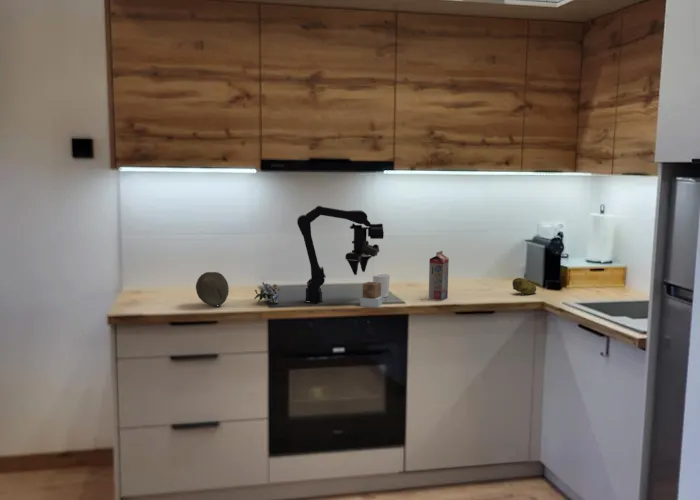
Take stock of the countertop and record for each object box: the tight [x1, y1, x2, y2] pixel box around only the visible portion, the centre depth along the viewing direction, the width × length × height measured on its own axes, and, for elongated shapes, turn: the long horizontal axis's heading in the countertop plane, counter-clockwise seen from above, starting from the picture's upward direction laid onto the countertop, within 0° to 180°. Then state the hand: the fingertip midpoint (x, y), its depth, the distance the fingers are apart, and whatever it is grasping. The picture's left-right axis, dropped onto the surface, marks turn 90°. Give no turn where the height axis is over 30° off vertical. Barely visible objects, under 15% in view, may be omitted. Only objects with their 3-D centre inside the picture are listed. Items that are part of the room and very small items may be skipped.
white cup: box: [372, 273, 390, 298], centre depth 310 cm, size 8×8×10 cm
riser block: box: [360, 296, 383, 308], centre depth 291 cm, size 8×8×4 cm
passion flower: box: [253, 281, 281, 304], centre depth 293 cm, size 11×11×12 cm
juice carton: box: [428, 250, 450, 302], centre depth 305 cm, size 7×7×22 cm
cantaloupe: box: [195, 271, 230, 307], centre depth 286 cm, size 14×14×15 cm
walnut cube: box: [362, 281, 381, 299], centre depth 291 cm, size 6×6×6 cm
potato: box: [512, 277, 537, 295], centre depth 318 cm, size 8×13×8 cm, turn 98°
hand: (359, 273), depth 297 cm, fingers open, 9 cm apart
